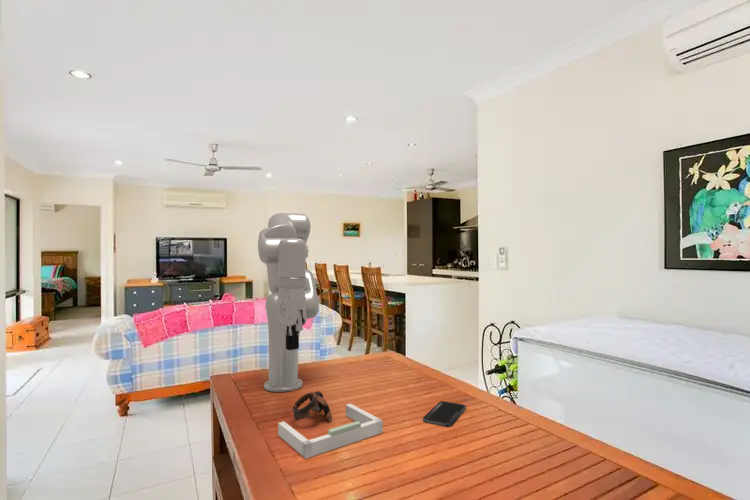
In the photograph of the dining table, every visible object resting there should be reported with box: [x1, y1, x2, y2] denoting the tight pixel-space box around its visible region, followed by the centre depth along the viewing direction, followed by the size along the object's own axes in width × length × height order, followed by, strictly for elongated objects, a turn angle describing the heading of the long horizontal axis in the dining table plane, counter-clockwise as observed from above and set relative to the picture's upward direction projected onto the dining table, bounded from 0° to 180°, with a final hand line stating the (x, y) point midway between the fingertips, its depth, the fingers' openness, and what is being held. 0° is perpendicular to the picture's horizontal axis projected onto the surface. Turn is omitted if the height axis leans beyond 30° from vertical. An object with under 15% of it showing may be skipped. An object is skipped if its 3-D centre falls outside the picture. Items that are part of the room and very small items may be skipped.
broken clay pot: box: [291, 391, 333, 424], centre depth 110 cm, size 12×10×8 cm
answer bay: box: [277, 403, 384, 460], centre depth 100 cm, size 14×21×4 cm
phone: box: [422, 400, 467, 428], centre depth 112 cm, size 8×1×15 cm
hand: (292, 348), depth 114 cm, fingers closed
